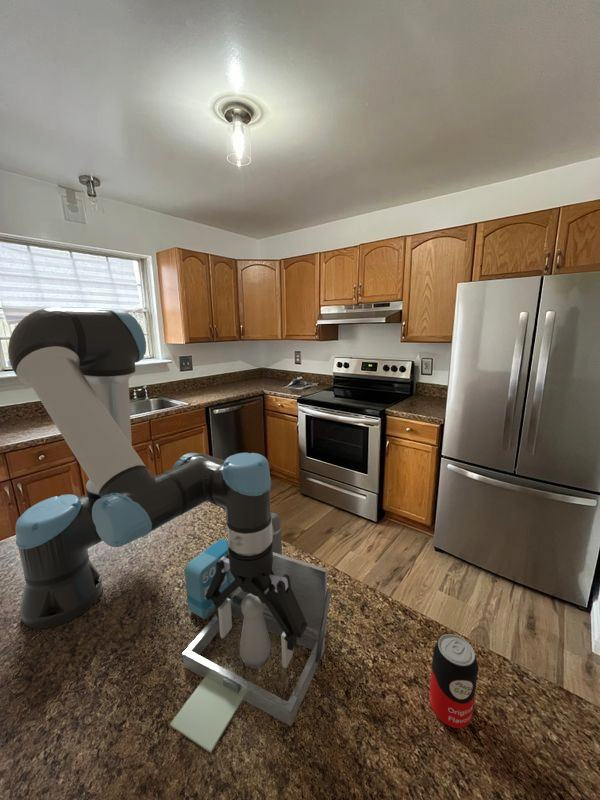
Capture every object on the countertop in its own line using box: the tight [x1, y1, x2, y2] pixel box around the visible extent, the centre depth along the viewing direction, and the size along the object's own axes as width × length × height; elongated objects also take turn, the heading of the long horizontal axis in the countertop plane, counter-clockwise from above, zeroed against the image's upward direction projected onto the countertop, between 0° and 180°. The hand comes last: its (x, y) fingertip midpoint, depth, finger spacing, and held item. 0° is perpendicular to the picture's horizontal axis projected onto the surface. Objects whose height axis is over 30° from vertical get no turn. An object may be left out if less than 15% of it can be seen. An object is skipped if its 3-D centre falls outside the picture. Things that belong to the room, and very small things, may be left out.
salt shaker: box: [239, 594, 272, 670], centre depth 62 cm, size 6×6×13 cm
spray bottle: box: [271, 512, 283, 555], centre depth 76 cm, size 5×5×20 cm
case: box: [182, 539, 332, 727], centre depth 61 cm, size 23×16×17 cm
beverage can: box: [428, 633, 479, 729], centre depth 53 cm, size 6×6×12 cm
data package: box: [184, 538, 231, 620], centre depth 76 cm, size 12×4×12 cm, turn 149°
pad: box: [169, 677, 244, 754], centre depth 54 cm, size 8×8×1 cm
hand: (255, 645), depth 63 cm, fingers open, 13 cm apart
